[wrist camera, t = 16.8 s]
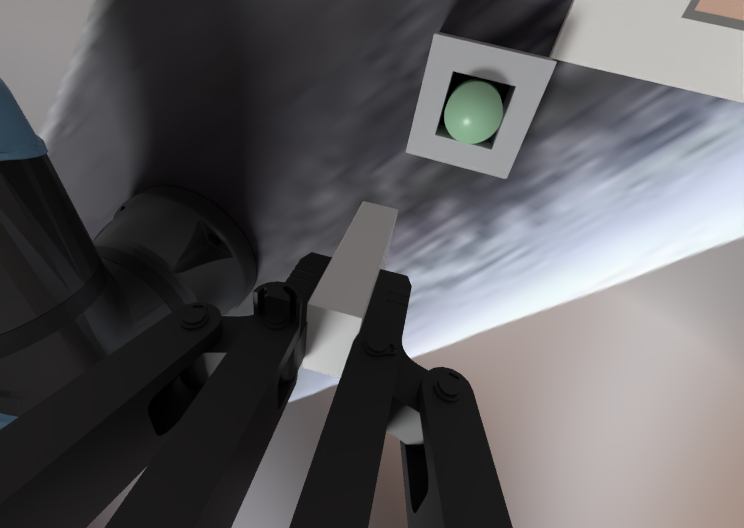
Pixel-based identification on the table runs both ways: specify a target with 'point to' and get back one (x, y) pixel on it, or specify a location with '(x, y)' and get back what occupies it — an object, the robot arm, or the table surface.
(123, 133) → the table surface
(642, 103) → the table surface
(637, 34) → the sheet
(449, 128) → the button
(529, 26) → the table surface
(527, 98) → the button box
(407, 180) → the table surface
